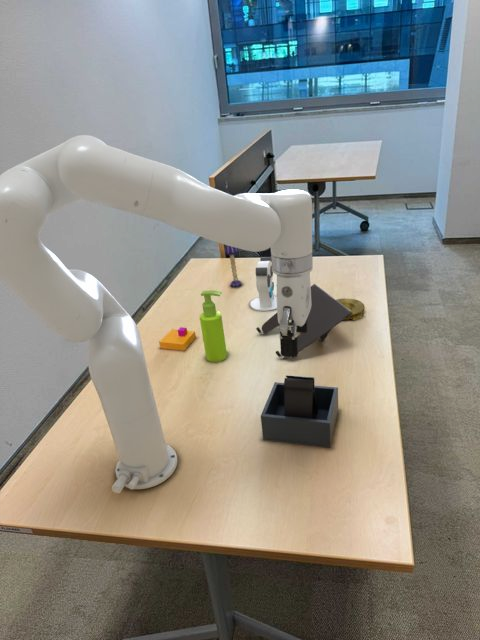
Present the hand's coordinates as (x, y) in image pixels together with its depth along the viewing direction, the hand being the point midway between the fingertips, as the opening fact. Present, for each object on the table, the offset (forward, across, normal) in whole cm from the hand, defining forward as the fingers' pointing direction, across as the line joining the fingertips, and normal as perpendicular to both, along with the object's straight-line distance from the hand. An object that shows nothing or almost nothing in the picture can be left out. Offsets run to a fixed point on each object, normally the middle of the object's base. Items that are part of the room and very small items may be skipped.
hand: (294, 343), depth 96 cm
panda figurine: (+21, +61, +23) cm, 69 cm away
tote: (+21, 0, -1) cm, 21 cm away
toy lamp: (+21, +76, +39) cm, 88 cm away
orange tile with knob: (+22, +32, +43) cm, 58 cm away
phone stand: (+21, +1, -1) cm, 21 cm away
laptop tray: (+21, +39, +7) cm, 45 cm away
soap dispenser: (+22, +26, +28) cm, 44 cm away
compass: (+21, +57, -4) cm, 61 cm away
